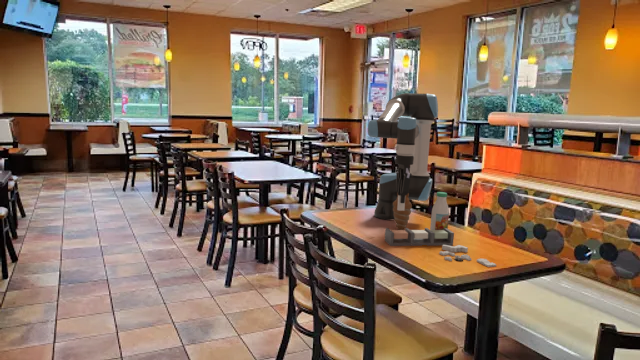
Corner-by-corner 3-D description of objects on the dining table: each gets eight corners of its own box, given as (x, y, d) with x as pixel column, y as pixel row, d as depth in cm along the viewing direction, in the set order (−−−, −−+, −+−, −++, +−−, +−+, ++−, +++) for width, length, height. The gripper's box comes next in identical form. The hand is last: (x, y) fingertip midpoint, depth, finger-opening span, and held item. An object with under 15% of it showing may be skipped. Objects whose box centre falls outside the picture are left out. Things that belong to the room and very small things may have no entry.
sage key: (429, 235, 205) (430, 229, 205) (442, 235, 206) (443, 229, 206) (434, 238, 200) (434, 233, 200) (447, 238, 201) (448, 233, 201)
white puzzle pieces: (451, 271, 169) (451, 265, 169) (417, 251, 191) (417, 246, 191) (496, 267, 176) (497, 261, 176) (458, 248, 198) (459, 243, 198)
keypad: (384, 240, 204) (385, 228, 203) (445, 239, 208) (446, 227, 207) (390, 245, 196) (391, 233, 195) (453, 245, 200) (454, 232, 200)
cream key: (410, 235, 204) (410, 230, 203) (423, 235, 205) (423, 230, 204) (414, 238, 199) (414, 233, 198) (427, 238, 200) (428, 233, 199)
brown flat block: (390, 235, 202) (390, 230, 202) (403, 235, 203) (404, 230, 203) (394, 238, 197) (394, 233, 197) (407, 238, 198) (408, 233, 198)
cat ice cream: (390, 230, 220) (392, 193, 217) (393, 226, 227) (395, 190, 224) (409, 233, 217) (411, 195, 214) (411, 229, 224) (414, 192, 221)
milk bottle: (427, 235, 214) (431, 192, 211) (432, 232, 221) (435, 190, 217) (444, 238, 210) (448, 195, 207) (448, 234, 217) (452, 192, 214)
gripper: (391, 152, 200) (387, 206, 204) (401, 156, 188) (397, 213, 191) (408, 153, 201) (404, 207, 205) (419, 156, 189) (414, 213, 192)
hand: (400, 210), depth 198 cm, fingers closed
